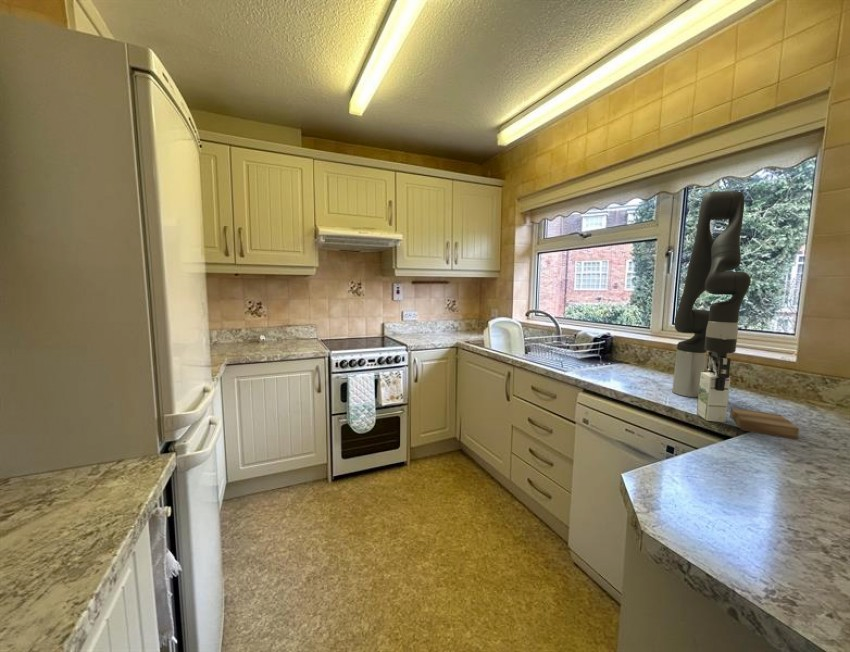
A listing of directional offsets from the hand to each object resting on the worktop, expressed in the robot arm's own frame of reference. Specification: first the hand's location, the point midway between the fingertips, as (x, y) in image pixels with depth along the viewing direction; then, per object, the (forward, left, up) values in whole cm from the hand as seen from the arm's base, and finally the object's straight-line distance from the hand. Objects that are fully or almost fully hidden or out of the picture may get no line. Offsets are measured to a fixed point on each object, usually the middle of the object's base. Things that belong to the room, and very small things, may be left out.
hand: (715, 387), depth 112 cm
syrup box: (0, 0, -11) cm, 11 cm away
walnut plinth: (+1, +12, -10) cm, 16 cm away
